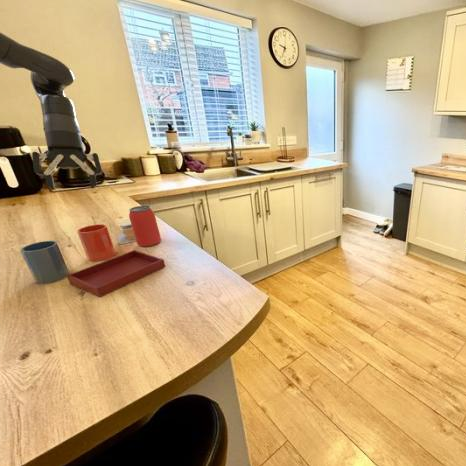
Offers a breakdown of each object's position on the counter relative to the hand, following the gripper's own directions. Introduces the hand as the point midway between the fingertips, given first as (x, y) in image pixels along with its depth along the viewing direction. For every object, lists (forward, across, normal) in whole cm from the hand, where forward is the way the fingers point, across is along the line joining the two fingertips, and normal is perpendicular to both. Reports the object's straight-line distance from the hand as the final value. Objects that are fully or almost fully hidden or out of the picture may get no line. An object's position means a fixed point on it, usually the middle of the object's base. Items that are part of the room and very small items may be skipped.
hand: (73, 188), depth 84 cm
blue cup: (+24, +6, +9) cm, 27 cm away
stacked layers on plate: (+16, -12, -8) cm, 22 cm away
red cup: (+21, -4, +3) cm, 21 cm away
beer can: (+19, -16, 0) cm, 25 cm away
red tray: (+26, -7, +18) cm, 33 cm away
